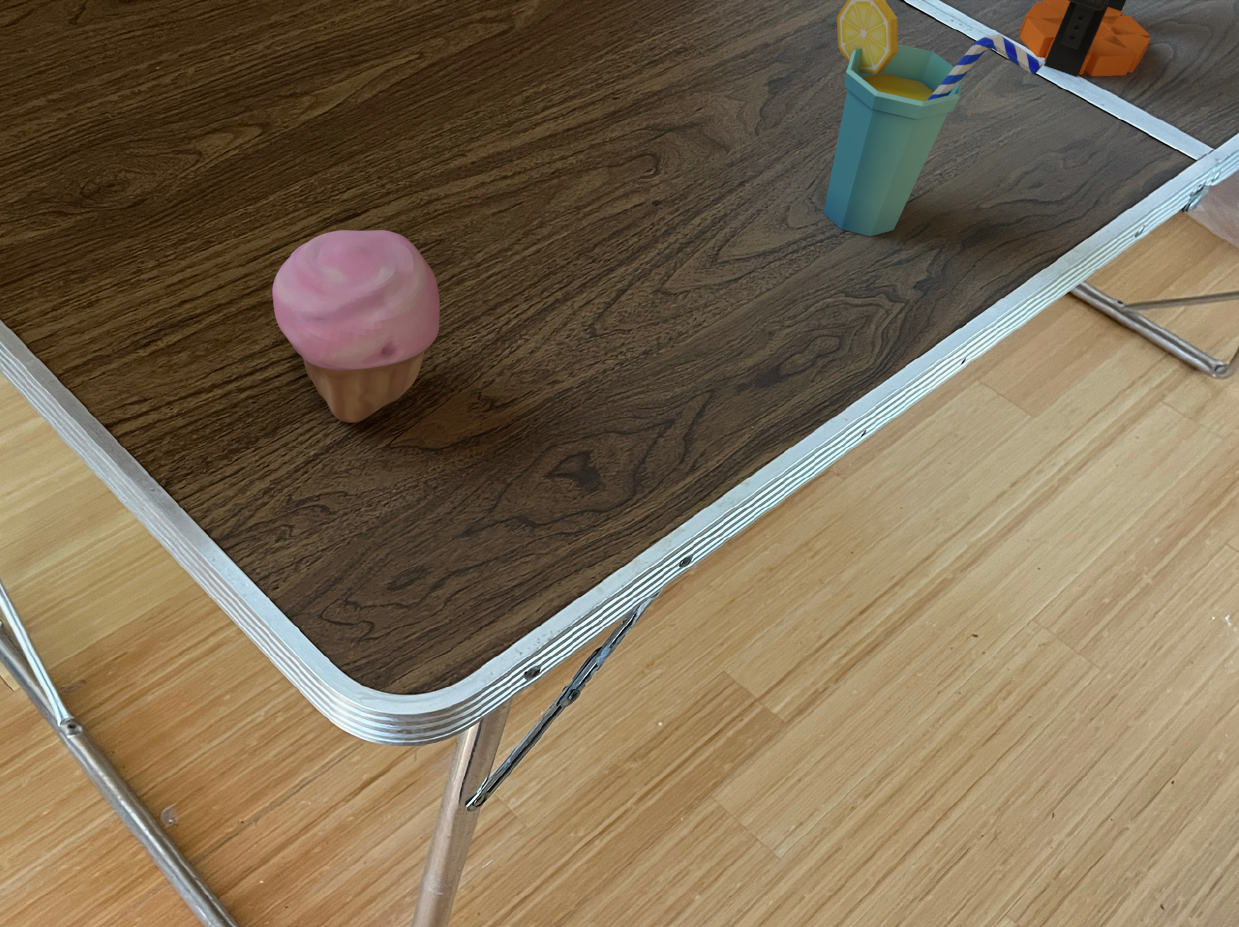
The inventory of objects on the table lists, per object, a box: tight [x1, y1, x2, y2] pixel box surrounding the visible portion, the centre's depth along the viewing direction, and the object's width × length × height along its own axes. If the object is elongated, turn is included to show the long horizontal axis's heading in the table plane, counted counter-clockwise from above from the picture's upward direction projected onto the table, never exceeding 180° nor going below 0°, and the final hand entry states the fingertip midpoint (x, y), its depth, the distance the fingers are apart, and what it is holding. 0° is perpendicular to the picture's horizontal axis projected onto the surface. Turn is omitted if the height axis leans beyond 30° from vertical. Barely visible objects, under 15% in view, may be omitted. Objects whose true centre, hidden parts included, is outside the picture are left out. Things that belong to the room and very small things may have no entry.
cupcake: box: [271, 229, 441, 424], centre depth 67 cm, size 9×9×10 cm
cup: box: [823, 0, 1044, 237], centre depth 81 cm, size 14×8×15 cm, turn 50°
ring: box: [1018, 0, 1152, 77], centre depth 103 cm, size 10×10×3 cm
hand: (1075, 56), depth 104 cm, fingers closed on ring, 10 cm apart
